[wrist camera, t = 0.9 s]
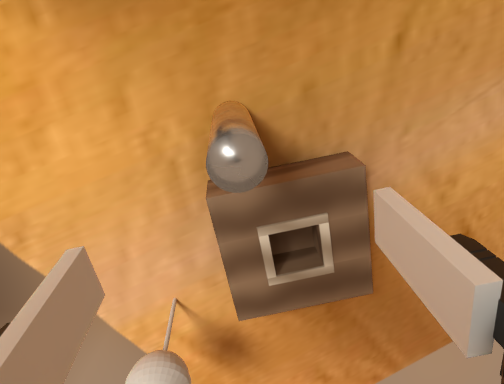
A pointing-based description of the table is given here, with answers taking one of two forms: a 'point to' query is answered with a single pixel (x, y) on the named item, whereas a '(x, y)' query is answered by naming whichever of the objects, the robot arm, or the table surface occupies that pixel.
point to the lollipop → (160, 364)
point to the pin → (235, 150)
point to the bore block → (295, 236)
